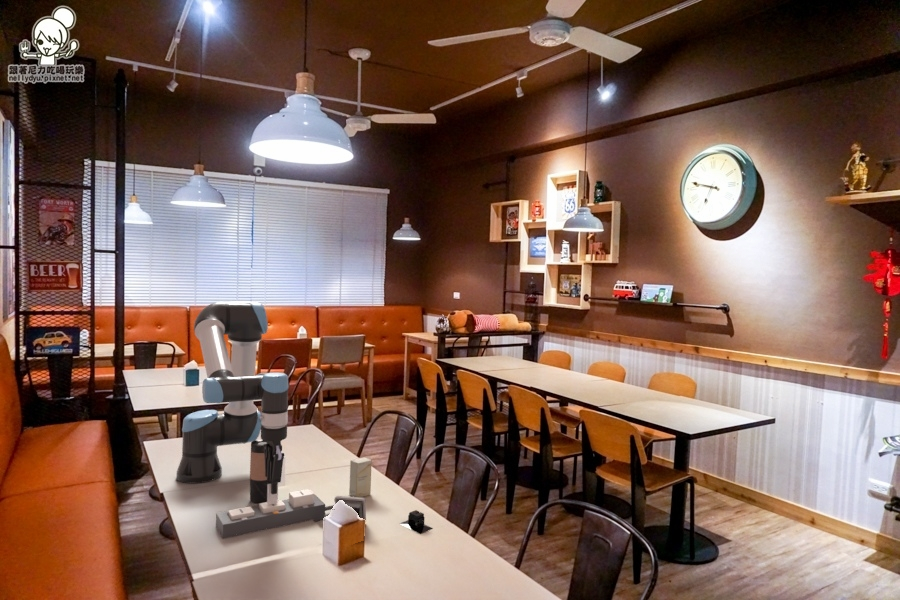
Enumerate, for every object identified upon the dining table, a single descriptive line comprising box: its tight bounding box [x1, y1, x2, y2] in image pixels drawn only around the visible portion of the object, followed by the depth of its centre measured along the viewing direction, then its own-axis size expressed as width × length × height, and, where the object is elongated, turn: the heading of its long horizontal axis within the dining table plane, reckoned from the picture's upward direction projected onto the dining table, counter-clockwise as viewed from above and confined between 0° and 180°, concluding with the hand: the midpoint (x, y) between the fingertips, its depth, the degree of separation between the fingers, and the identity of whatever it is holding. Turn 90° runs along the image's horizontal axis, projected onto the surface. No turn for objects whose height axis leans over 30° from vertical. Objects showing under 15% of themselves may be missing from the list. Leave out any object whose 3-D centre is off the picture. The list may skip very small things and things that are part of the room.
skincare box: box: [348, 456, 373, 498], centre depth 199 cm, size 6×4×12 cm
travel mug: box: [249, 439, 268, 505], centre depth 189 cm, size 8×8×20 cm
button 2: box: [258, 499, 285, 514], centre depth 174 cm, size 4×6×5 cm
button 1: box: [227, 505, 254, 520], centre depth 169 cm, size 4×6×5 cm
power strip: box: [215, 493, 335, 539], centre depth 175 cm, size 9×36×5 cm, turn 124°
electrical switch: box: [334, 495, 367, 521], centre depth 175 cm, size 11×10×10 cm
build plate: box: [399, 509, 434, 535], centre depth 177 cm, size 12×7×5 cm, turn 47°
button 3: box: [288, 488, 315, 508], centre depth 179 cm, size 4×6×5 cm
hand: (272, 503), depth 173 cm, fingers closed
